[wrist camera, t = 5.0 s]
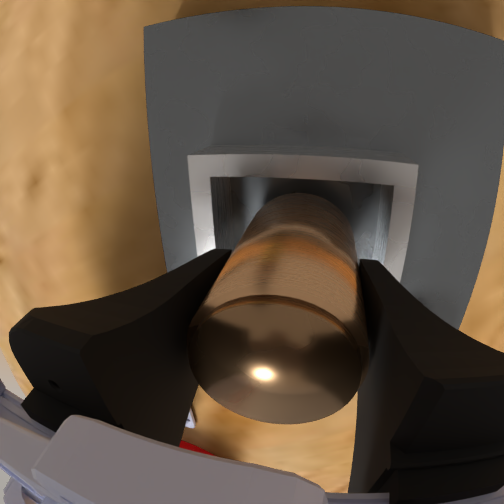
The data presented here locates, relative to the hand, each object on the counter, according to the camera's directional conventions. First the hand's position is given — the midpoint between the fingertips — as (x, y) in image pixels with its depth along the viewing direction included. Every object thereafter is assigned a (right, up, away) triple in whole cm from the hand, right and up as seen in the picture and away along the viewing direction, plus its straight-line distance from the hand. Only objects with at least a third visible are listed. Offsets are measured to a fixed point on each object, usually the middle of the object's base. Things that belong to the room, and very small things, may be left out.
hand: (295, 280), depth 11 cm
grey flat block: (+2, +3, +5) cm, 6 cm away
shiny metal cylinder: (0, +1, +2) cm, 3 cm away
